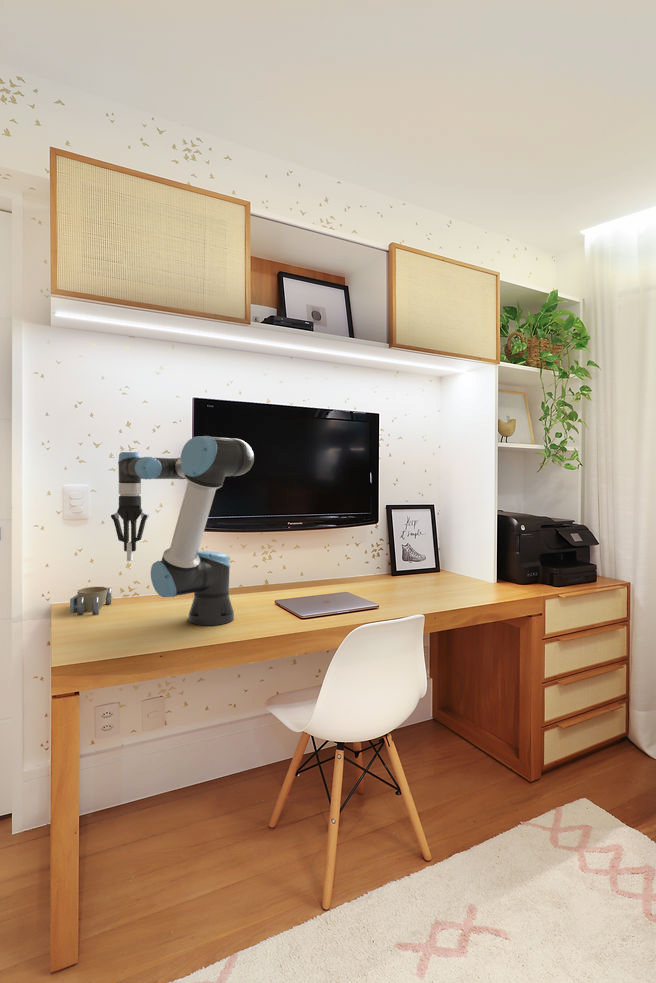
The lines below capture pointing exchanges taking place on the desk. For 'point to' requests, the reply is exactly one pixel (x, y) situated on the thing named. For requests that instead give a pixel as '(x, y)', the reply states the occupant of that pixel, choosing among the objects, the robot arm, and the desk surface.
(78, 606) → the pin cradle
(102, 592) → the flower pot
